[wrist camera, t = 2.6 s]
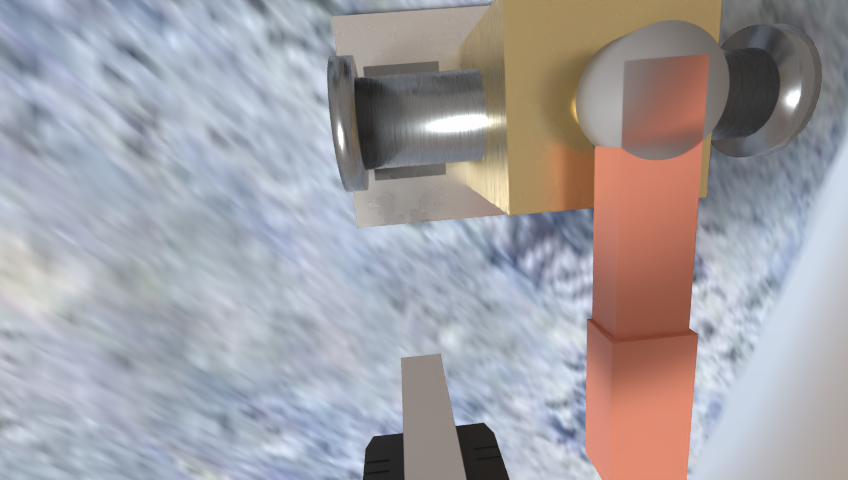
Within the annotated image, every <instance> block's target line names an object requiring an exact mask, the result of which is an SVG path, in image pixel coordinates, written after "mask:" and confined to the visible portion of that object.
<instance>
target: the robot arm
mask: <svg viewBox="0 0 848 480" xmlns="http://www.w3.org/2000/svg"><path fill="white" fill-rule="evenodd" d="M401 367H402V402H403V433H400V434H391V435H383V436H374V437H373V438H372V440H371V441H370V443H369V444H368V446H367V448H366V452H365V465H364V476H363V480H509V477H508V474H507V471H506V468H505V465H504V462H503V459H502V456H501V453H500V450H499V448H498V444H497V441H496V438H495V435H494V433H493V432H492V431H491V430H490V429H489V428H488V427H487V426H486V425H485V424H484V423H479V424H470V425H461V426H455V422H454V417H453V412H452V408H451V403H450V398H449V393H448V388H447V384H446V379H445V374H444V369H443V364H442V359H441V355H440V354H435V355H425V356H416V357H406V358H401Z"/></svg>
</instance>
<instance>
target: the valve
mask: <svg viewBox="0 0 848 480" xmlns="http://www.w3.org/2000/svg"><path fill="white" fill-rule="evenodd" d="M721 8H722V0H494V1H493V3H492V4H491V5H488V6H474V7H459V8H445V9H430V10H416V11H402V12H387V13H373V14H358V15H344V16H332V19H333V27H334V36H335V44H336V52H337V56H330V57H329V60H328V68H327V82H328V99H329V110H330V120H331V128H332V135H333V142H334V148H335V154H336V159H337V164H338V168H339V173H340V177H341V180H342V183H343V186H344V188H345V190H346V192H353V194H354V203H355V211H356V219H357V228H363V227H373V226H384V225H395V224H406V223H417V222H428V221H439V220H450V219H461V218H472V217H482V216H493V215H504V214H508V215H509V216H510V215H521V214H532V213H542V212H553V211H564V210H575V209H586V208H594V178H595V146H594V145H593V144H592V143H591V142H590V141H589V140H588V139H587V137H586V136H585V134H584V133H583V131H582V129H581V127H580V125H579V121H578V118H577V113H576V92H577V86H578V83H579V80H580V77H581V75H582V73H583V70H584V69H585V67H586V65H587V64H588V62H589V61H590V60H591V58H592V57H593V56H594V55H595V54H596V53H597V52H598V51H599V50H600V49H601V48H602V47H604V46H605V45H606V44H608V43H610V42H611V41H613V40H615V39H617V38H620V37H622V36H624V35H627V34H629V33H631V32H634V31H636V30H638V29H641V28H643V27H645V26H648V25H650V24H653V23H656V22H660V21H667V20H679V21H686V22H689V23H692V24H695V25H697V26H699V27H701V28H703V29H704V30H705V31H707V32H708V33H709V34H710V35H711V36H712V37H713V38H714V39H715V40H716V41H717V43H718V44H719V33H720V21H721ZM721 49H722V51H723V53H724V55H725V58H726V61H727V65H728V69H729V92H728V98H727V102H726V106H725V108H724V111H723V113H722V116H721V117H720V119H719V121H718V123H717V125H716V126H715V128H714V129H713V130H712V132H711V133H710V134H709V135H708V136H707V137H706V138H705V139H704V140H703V147H702V161H701V174H700V188H699V198H706V197H707V185H708V173H709V160H710V147H711V143H712V144H713V145H714V147H715V148H716V149H718V150H719V151H720V152H722V153H724V154H726V155H729V156H732V157H751V156H762V155H767V154H771V153H774V152H776V151H778V150H780V149H782V148H784V147H785V146H786V145H788V144H789V143H790V142H792V141H793V140H794V139H795V138H796V137H797V136H798V135H799V133H800V132H801V131H802V130H803V128H804V127H805V126H806V124H807V123H808V121H809V119H810V117H811V116H812V114H813V111H814V109H815V107H816V104H817V100H818V97H819V93H820V88H821V77H822V75H821V63H820V57H819V54H818V51H817V49H816V47H815V45H814V43H813V41H812V40H811V39H810V37H809V36H808V35H807V34H806V33H805V32H804V31H803V30H801V29H799V28H798V27H796V26H793V25H790V24H784V23H778V24H763V25H754V26H749V27H747V28H744V29H742V30H740V31H738V32H737V33H735V34H734V35H732V36H731V37H730V38H729V39H728V40H727V41H726V42H725V43H724V44H723V45H722V46H721Z"/></svg>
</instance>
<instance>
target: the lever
mask: <svg viewBox="0 0 848 480" xmlns="http://www.w3.org/2000/svg"><path fill="white" fill-rule="evenodd" d="M728 92H729V69H728V65H727V61H726V58H725V55H724V53H723V51H722V49H721V47H720V45H719V44H718V43H717V41H716V40H715V39H714V38H713V37H712V36H711V35H710V34H709V33H708V32H707V31H705V30H704V29H703V28H701V27H699V26H697V25H695V24H692V23H689V22H686V21H679V20H667V21H660V22H656V23H653V24H650V25H648V26H645V27H643V28H641V29H638V30H636V31H634V32H631V33H629V34H627V35H624V36H622V37H620V38H617V39H615V40H613V41H611V42H610V43H608V44H606V45H605V46H604V47H602V48H601V49H600V50H599V51H598V52H597V53H596V54H595V55H594V56H593V57H592V58H591V60H590V61H589V62H588V64H587V65H586V67H585V69H584V70H583V73H582V75H581V77H580V80H579V83H578V86H577V92H576V113H577V118H578V121H579V125H580V127H581V129H582V131H583V133H584V134H585V136H586V137H587V139H588V140H589V141H590V142H591V143H592V144H593V145H594V146H595V178H594V242H593V307H592V319H587V376H586V454H587V455H588V457H589V459H590V460H591V462H592V464H593V465H594V467H595V468H596V470H597V472H598V473H599V475H600V477H601V478H602V480H687V468H688V455H689V443H690V431H691V418H692V406H693V393H694V381H695V368H696V356H697V343H698V334H697V333H695V332H694V331H692V330H691V329H689V322H690V309H691V295H692V282H693V268H694V255H695V241H696V228H697V215H698V201H699V188H700V174H701V161H702V147H703V140H704V139H705V138H706V137H707V136H708V135H709V134H710V133H711V132H712V130H713V129H714V128H715V126H716V125H717V123H718V121H719V119H720V117H721V116H722V113H723V111H724V108H725V106H726V102H727V98H728Z"/></svg>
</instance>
